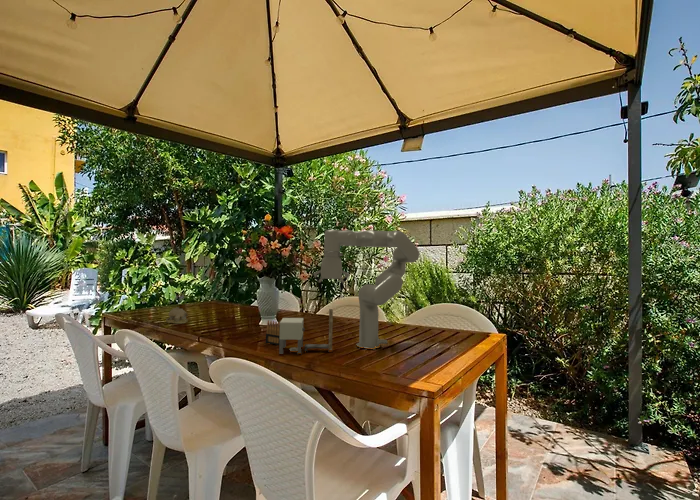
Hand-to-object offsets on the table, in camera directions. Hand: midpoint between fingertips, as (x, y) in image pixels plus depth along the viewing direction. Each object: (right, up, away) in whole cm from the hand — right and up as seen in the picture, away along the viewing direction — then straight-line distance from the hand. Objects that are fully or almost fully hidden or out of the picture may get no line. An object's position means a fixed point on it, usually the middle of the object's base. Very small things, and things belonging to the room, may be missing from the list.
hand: (330, 290), depth 182 cm
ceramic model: (-106, -29, +70) cm, 130 cm away
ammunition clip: (-30, -29, +12) cm, 43 cm away
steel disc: (-17, -29, -1) cm, 34 cm away
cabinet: (-19, -29, -2) cm, 34 cm away
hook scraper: (-6, -29, -1) cm, 30 cm away
